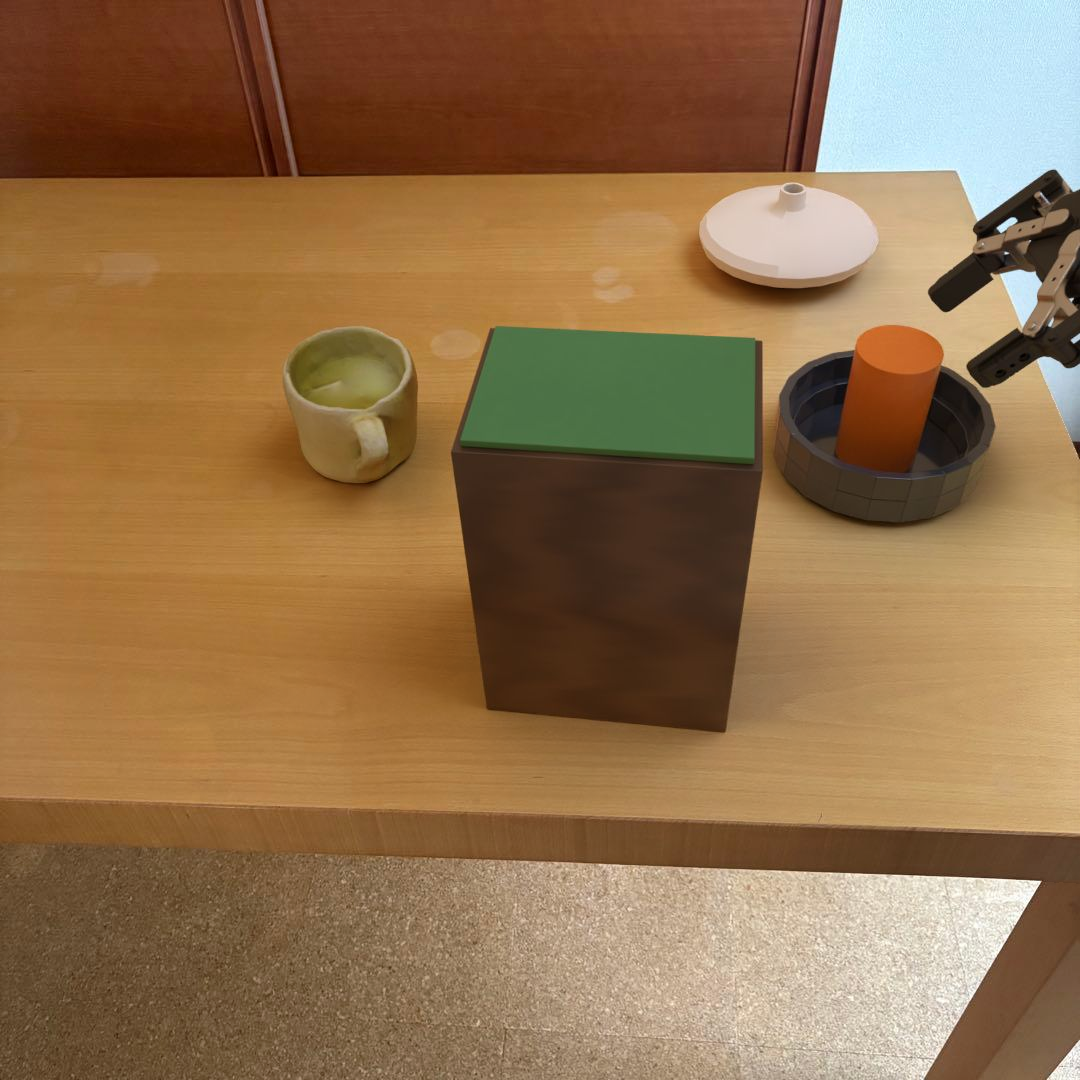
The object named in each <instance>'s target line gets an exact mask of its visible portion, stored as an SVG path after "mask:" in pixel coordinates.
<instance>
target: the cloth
mask: <svg viewBox="0 0 1080 1080" xmlns="http://www.w3.org/2000/svg"><path fill="white" fill-rule="evenodd" d="M494 328H495V330H494V333H493V336H492V339H491V343H490V346H489V349H488V352H487V355H486V359H485V362H484V365H483V368H482V371H481V375H480V378H479V381H478V384H477V387H476V391H475V394H474V397H473V400H472V403H471V407H470V410H469V413H468V416H467V419H466V423H465V426H464V429H463V432H462V435H461V439H460V444H461V446H465V447H481V448H497V449H513V450H529V451H545V452H561V453H577V454H593V455H609V456H625V457H641V458H658V459H674V460H690V461H706V462H722V463H738V464H754V458H755V340H756V337H745V336H744V337H743V336H726V335H725V336H724V335H723V336H722V335H718V336H717V335H703V334H702V335H701V334H700V335H699V334H682V333H681V334H679V333H678V334H677V333H658V332H657V333H655V332H636V331H635V332H633V331H617V330H615V331H614V330H613V331H612V330H592V329H572V328H550V327H549V328H548V327H527V326H507V325H506V326H505V325H495V327H494Z"/></svg>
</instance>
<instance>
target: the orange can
mask: <svg viewBox="0 0 1080 1080" xmlns="http://www.w3.org/2000/svg"><path fill="white" fill-rule="evenodd" d="M855 343H856V344H855V347H854V350H855V351H854V356H853V361H852V366H851V371H850V376H849V381H848V386H847V391H846V395H845V400H844V405H843V410H842V415H841V420H840V425H839V430H838V435H837V440H836V445H835V452H836V455H837V457H838V459H839V460H841V461H843V462H845V463H849V464H852V465H856V466H860V467H864V468H867V469H871V470H875V471H884V472H900V473H905V472H906V471H908V470H909V469H910V468H911V467H912V465H913V464H914V461H915V458H916V454H917V451H918V447H919V444H920V440H921V436H922V433H923V429H924V426H925V422H926V418H927V415H928V411H929V408H930V404H931V400H932V397H933V393H934V390H935V386H936V382H937V379H938V375H939V372H940V368H941V365H943V360H944V356H945V351H944V348H943V346H942V344H941V343H940V341H939V340H938V339H936V338H935V337H934V336H933V335H931V334H930V333H928V332H926V331H924V330H922V329H918V328H915V327H913V326H908V325H901V324H883V325H879V326H875V327H872V328H869V329H867V330H865V331H864V332H862V333H861V334H860V335H859V336H858V337H857V339H856V342H855Z"/></svg>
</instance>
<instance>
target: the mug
mask: <svg viewBox="0 0 1080 1080" xmlns="http://www.w3.org/2000/svg"><path fill="white" fill-rule="evenodd" d="M282 386H283V391H284V396H285V398H286V403H287V405H288V407H289V410H290V412H291V413H290V414H291V416H292V419H293V421H294V424H295V427H296V431H297V435H298V439H299V445H300V449H301V452H302V454H303V456H304V458H305V461H307V463H308V464H309V465H310V467H311V468H312V469H313V470H314V471H316V472H317V473H318V474H320V475H321V476H322V477H324V478H327V479H330V480H334V481H337V482H341V483H348V484H366V483H369V482H373V481H377V480H379V479H382V478H383V477H384V476H386V475H387V474H389V473H390V472H391V471H393V470H394V469H395V468H396V467H397V466H398V465H399V464H401V463H402V462H404V461H406V460H407V459H408V458H409V456H410V455H411V454H412V452H413V451H414V448H415V445H416V443H417V435H418V394H419V382H418V374H417V370H416V366H415V362H414V359H413V357H412V355H411V352H410V350H409V349H408V348H407V346H406V345H405V344H403V342H402V341H401V340H400V339H398V338H395V337H392V336H389V335H387V334H386V333H385V332H382V331H381V330H379V329H376V328H373V327H369V326H365V325H355V326H354V325H353V326H352V325H350V326H341V327H339V326H338V327H334V328H332V329H324V330H323V329H322V330H321V331H319V332H317V333H315V334H313V335H312V336H309V337H306V338H305V339H303V340H302V341H300V342H299V343H298V344H297V345H296V346H295V347H294V348H293V350H292V351H291V352H290V353H289V355H288V356H287V358H286V361H285V363H284V366H283V369H282Z"/></svg>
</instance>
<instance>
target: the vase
mask: <svg viewBox="0 0 1080 1080" xmlns="http://www.w3.org/2000/svg"><path fill="white" fill-rule="evenodd" d="M698 236H699V237H698V238H699V241H700V244H701V247H702V248H703V251H704V253H705V255H706V258H708V260H709V261H711V263H713V264H714V265H715V267H717V268H718V269H719V270H721V271H723V272H725V273H727V274H728V275H730V276H732V277H734V278H737V279H740V280H743V281H745V282H748V283H751V284H754V285H760V286H767V287H772V288H781V289H782V288H784V289H805V288H806V289H807V288H816V287H824V286H826V285H827V286H828V285H831V284H834V283H837V282H838V283H839V282H841V281H844V280H846V279H848V278H850V277H852V276H854V275H855V274H857V273H859V272H860V271H861V270H862V269H863V268H864V267H865V266H867V264H868V263H869V262H870V260H871V258H872V256H873V255H874V253H875V251H876V249H877V245H878V244H879V240H880V239H879V233H878V228H877V227H876V225H875V223H874V222H873V221H872V219H871V218H870V216H869V215H868V214H867V212H866V211H865V210H864V209H863V208H862V207H861V206H859V205H858V204H857V203H855V202H853V201H852V200H851V199H848V198H846V197H844V196H842V195H839V194H838V193H834V192H831V191H827V190H824V189H821V188H817V187H811V186H809V187H808V186H806V185H804V184H802V183H799V182H786V183H784V184H775V185H774V184H773V185H765V186H755V187H752V188H747V189H744V190H740V191H737V192H735V193H732V194H730V195H728V196H726V197H723V198H722V199H720V201H718V202H717V203H715V204H714V205H713V206H712V207H710V209H708V210H707V212H706V213H705V214H704V215H703V217H702V219H701V220H700V223H699V229H698Z"/></svg>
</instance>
